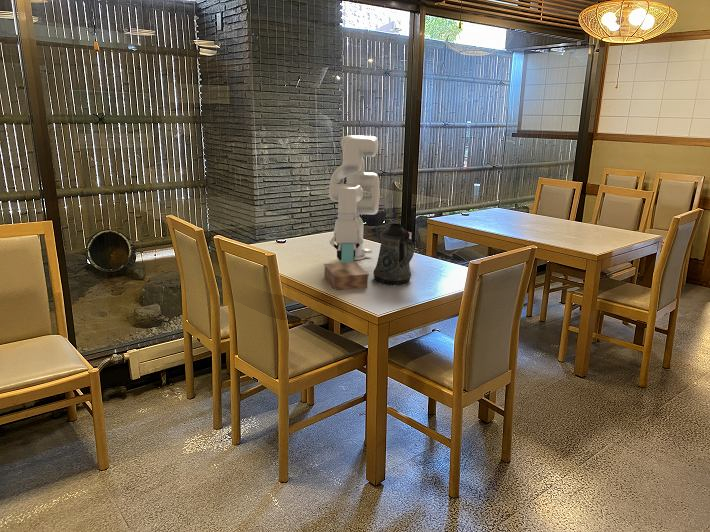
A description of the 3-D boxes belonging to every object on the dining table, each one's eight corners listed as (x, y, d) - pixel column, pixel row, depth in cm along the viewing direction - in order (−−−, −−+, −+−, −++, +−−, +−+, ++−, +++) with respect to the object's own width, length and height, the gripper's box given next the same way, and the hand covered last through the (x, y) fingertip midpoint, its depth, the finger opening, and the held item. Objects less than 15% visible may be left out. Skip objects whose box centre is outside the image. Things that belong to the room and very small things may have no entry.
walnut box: (355, 275, 239) (355, 262, 237) (368, 287, 222) (368, 274, 220) (323, 276, 235) (323, 263, 233) (334, 290, 218) (334, 276, 216)
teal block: (349, 259, 229) (350, 241, 227) (353, 262, 224) (353, 243, 222) (338, 259, 227) (339, 241, 225) (341, 262, 223) (342, 244, 220)
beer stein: (382, 272, 244) (385, 218, 237) (422, 279, 236) (426, 224, 229) (366, 281, 230) (368, 225, 223) (408, 289, 222) (412, 230, 215)
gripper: (363, 214, 226) (362, 256, 231) (324, 215, 222) (324, 257, 226) (369, 217, 220) (367, 260, 224) (329, 218, 215) (328, 262, 220)
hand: (345, 258), depth 225 cm, fingers closed on teal block, 5 cm apart
